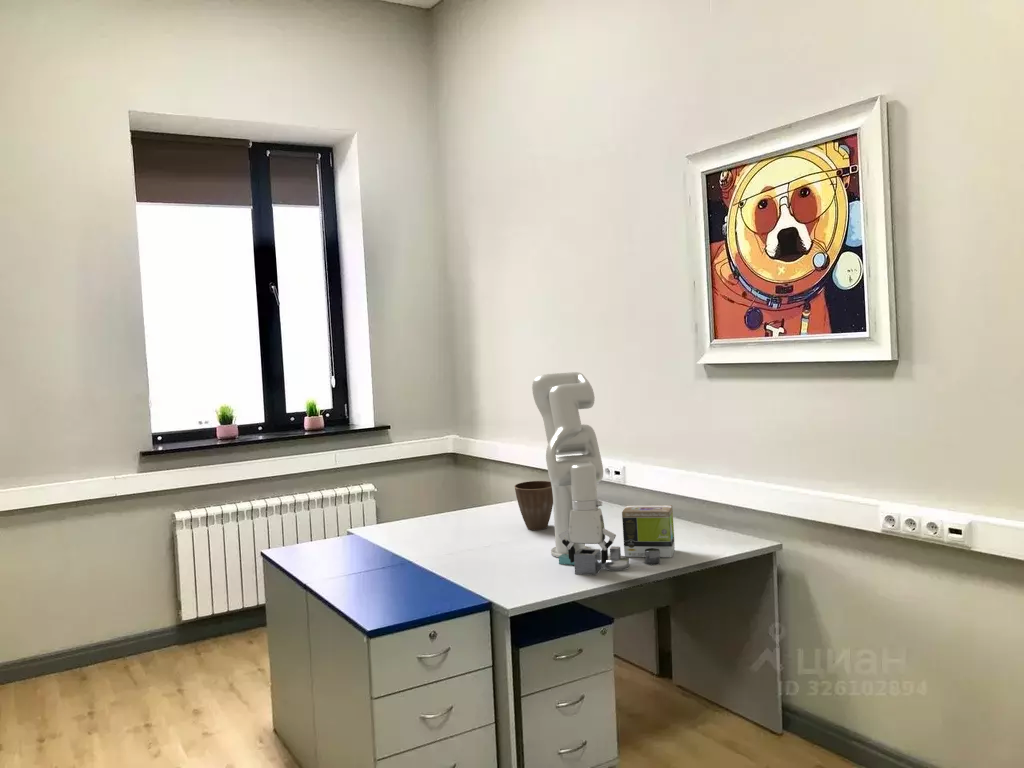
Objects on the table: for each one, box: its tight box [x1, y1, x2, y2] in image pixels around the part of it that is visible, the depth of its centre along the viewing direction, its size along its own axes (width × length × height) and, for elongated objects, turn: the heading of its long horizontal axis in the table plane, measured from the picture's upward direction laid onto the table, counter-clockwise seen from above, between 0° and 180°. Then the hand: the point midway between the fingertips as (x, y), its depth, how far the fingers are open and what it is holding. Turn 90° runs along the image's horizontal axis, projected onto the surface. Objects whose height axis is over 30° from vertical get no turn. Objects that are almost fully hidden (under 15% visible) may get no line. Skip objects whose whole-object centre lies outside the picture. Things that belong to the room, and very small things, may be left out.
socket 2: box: [644, 548, 661, 566], centre depth 255 cm, size 4×4×4 cm
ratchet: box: [558, 545, 630, 572], centre depth 256 cm, size 22×8×6 cm, turn 64°
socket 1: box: [573, 548, 602, 576], centre depth 250 cm, size 6×6×6 cm
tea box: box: [621, 504, 676, 558], centre depth 265 cm, size 15×10×15 cm, turn 73°
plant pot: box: [514, 480, 554, 531], centre depth 306 cm, size 15×15×16 cm
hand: (588, 562), depth 249 cm, fingers open, 9 cm apart
